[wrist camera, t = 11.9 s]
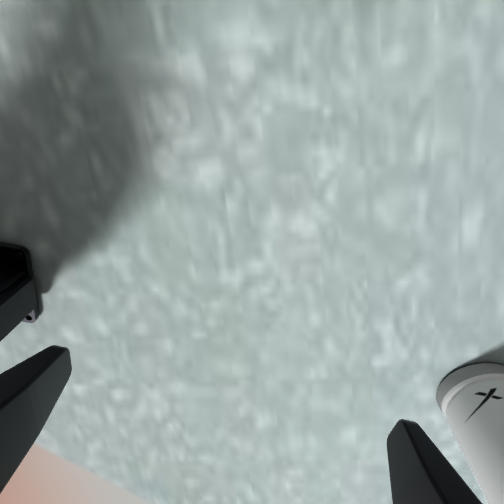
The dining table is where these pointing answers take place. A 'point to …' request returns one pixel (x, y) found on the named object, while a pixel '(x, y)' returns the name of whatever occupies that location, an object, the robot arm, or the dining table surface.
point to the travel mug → (478, 422)
